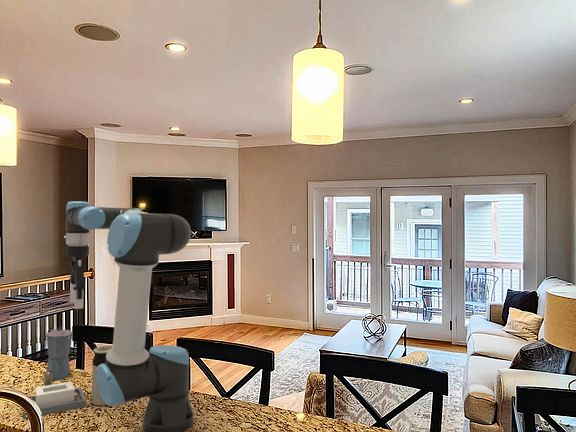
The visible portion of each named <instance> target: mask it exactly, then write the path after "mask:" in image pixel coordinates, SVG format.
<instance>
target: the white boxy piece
mask: <svg viewBox="0 0 576 432" xmlns="http://www.w3.org/2000/svg"><path fill="white" fill-rule="evenodd" d="M75 389H76V388H75V386H74V384H73V381H67V382H61V383H55V384H52V385H48V386H44V385H43V386H36V387H35V395H34V396H35V402H36V404H37V405H38V406H39V408H41V407H47V406H52V405H58V404H63V403H68V402H74V401H77V392H75V393H74V391H75Z"/></svg>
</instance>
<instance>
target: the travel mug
mask: <svg viewBox="0 0 576 432" xmlns="http://www.w3.org/2000/svg"><path fill="white" fill-rule="evenodd" d="M112 348H113V345H103V346H98V347H95V348H94V349H93V350H92V351H93V353H94V357H93V358H92V365H91V367H92V372H91V373H92V375H91V379H92V380H91V387H92V388H91V403H92V404H93V405H95V406H99V407H101V406H102V407H103V406H108V405H107V404H106V403H105V402H104V401H103V399H102V397H101V395H100V393H99V390H98V386H97V381H96V370H97V368H98V366H99V365H101V364H105V361H106V354H107V353H108V352H109V351H110V350H111V349H112Z"/></svg>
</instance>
